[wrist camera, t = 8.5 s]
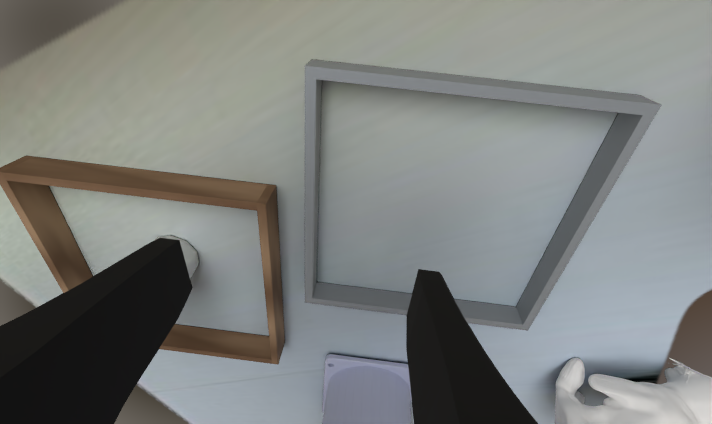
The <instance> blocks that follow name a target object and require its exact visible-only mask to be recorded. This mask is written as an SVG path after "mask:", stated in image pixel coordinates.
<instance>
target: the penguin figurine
mask: <svg viewBox="0 0 712 424" xmlns="http://www.w3.org/2000/svg"><path fill="white" fill-rule="evenodd" d="M671 360H673V361H674V362H676V363H677V364H678V366H675V367H674V368H668V369H666V370H665V372H664V374H665V377H666V380H667V383H663V384H654V383H648V382H633V381H630V380H626V379H623V378H618V377H613V376H608V375H603V374H593V375H591V376H590V377H589V379H588V381H589V384H590V386H591V387H592V388H593V389H595V390H597V391H600V392H602V393H604V394H606V395H607V396H609V398H606V399H604V401H603V405H599V406H589V405H584V402H585V398H584V396H583V395H582V394H581V393H580V392H578V391H577V389H578V388H579V387H580V386H581V385H582V384H583V382H584V378H585V369H584V364H583V362H582V360H580V359H579V358H572V359H571V360H569V361H568V362H567V364H566V365H565V366H564V367H563V368H562V370H561V372H560V374H559V377H558V379H557V380H556V401H555V424H712V377H710V376H707V375H704V374H702V373H700V372H698V371H695V370H693V369H691V368H690V367H687V366H685V365H684V364H683V363H681V362H680V363H679V362H677V361H676V360H674V359H671ZM682 364H683V365H682Z"/></svg>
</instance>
